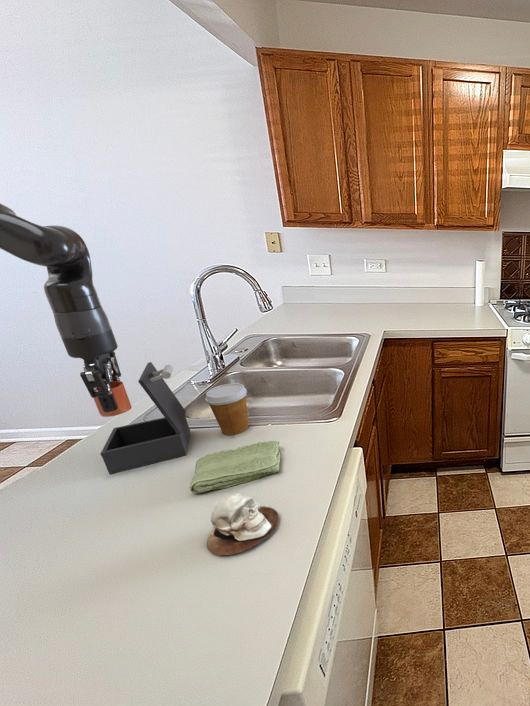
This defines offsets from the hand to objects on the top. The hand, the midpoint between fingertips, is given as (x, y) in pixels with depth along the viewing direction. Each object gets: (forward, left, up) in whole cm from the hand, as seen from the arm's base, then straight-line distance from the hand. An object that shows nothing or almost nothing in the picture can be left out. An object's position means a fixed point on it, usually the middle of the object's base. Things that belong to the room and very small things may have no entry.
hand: (114, 404), depth 86 cm
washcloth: (+22, -6, -17) cm, 29 cm away
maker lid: (+4, +9, -4) cm, 11 cm away
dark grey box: (-1, +8, -17) cm, 19 cm away
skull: (+28, -27, -18) cm, 43 cm away
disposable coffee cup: (+16, +14, -17) cm, 28 cm away
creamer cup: (0, 0, -1) cm, 1 cm away
